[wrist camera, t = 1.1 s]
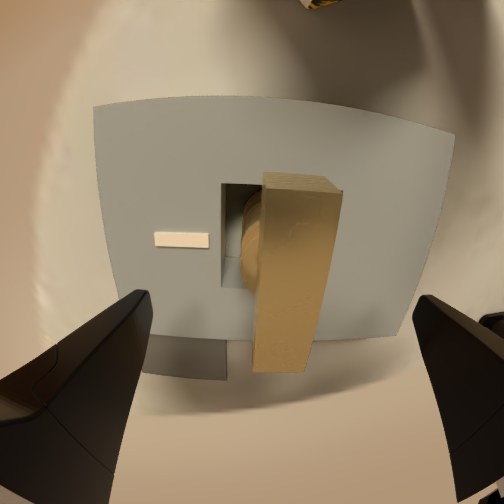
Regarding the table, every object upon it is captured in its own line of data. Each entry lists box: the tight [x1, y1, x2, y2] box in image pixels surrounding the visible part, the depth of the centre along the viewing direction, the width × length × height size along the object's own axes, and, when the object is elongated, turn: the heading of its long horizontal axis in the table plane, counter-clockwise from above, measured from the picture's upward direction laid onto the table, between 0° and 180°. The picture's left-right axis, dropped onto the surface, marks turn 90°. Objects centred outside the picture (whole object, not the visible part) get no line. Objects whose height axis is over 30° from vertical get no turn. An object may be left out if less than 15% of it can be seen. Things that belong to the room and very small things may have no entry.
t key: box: [240, 172, 343, 372], centre depth 12 cm, size 3×7×7 cm, turn 177°
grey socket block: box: [93, 96, 455, 341], centre depth 14 cm, size 16×12×3 cm
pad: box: [142, 334, 227, 381], centre depth 19 cm, size 7×7×1 cm
